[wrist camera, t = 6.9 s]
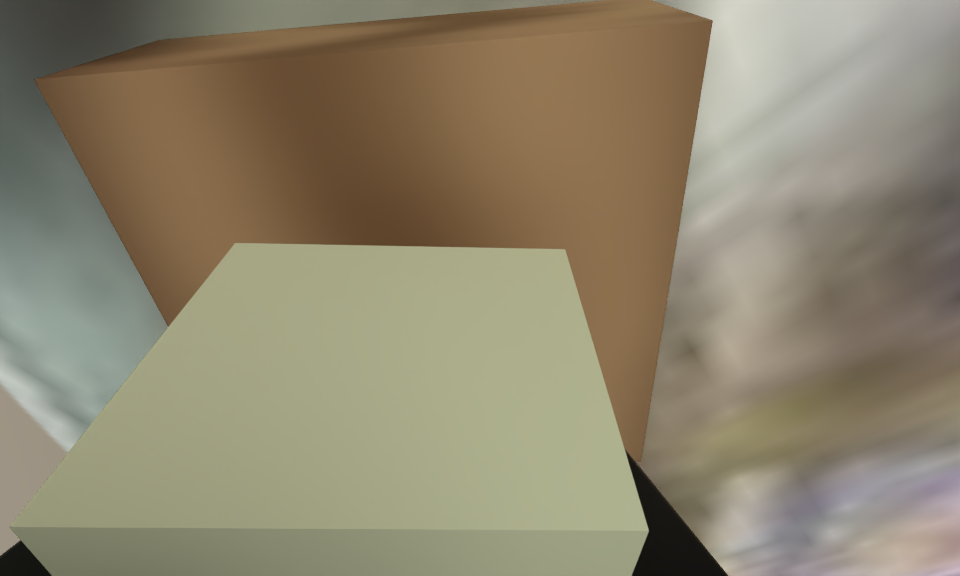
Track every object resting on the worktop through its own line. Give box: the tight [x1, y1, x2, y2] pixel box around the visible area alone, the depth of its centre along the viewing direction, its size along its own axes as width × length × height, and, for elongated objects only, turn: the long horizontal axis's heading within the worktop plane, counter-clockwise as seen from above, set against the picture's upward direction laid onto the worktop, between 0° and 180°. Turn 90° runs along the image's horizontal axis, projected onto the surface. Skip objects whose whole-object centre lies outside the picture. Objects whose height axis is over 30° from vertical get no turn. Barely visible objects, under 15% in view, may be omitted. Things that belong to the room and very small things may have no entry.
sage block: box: [10, 243, 649, 576], centre depth 7 cm, size 5×5×4 cm
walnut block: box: [34, 0, 713, 462], centre depth 12 cm, size 10×10×4 cm
